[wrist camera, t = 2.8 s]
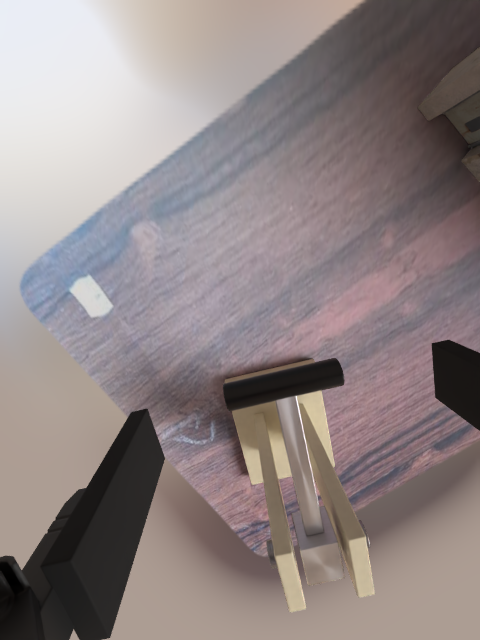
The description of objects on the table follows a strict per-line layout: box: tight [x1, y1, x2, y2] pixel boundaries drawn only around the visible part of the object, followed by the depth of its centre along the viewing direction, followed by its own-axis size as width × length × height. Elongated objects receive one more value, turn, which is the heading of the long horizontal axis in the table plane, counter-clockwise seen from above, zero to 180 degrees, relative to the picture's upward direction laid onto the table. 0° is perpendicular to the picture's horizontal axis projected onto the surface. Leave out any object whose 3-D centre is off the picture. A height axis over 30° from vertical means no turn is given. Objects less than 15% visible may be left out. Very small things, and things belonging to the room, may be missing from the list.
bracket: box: [225, 359, 375, 612], centre depth 23 cm, size 12×9×15 cm
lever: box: [223, 358, 345, 586], centre depth 17 cm, size 13×6×2 cm, turn 13°
